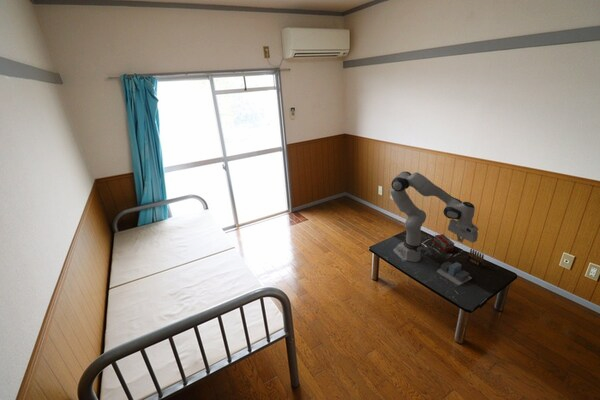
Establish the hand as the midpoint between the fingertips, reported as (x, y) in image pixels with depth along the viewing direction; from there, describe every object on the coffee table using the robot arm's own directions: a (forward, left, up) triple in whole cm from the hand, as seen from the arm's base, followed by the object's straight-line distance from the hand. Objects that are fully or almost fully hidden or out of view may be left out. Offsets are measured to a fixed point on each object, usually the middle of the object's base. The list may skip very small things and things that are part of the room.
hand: (460, 241), depth 200 cm
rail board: (+3, -5, -26) cm, 27 cm away
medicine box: (-24, +19, -26) cm, 41 cm away
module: (+3, -5, -24) cm, 25 cm away
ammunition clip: (+3, +19, -26) cm, 32 cm away
